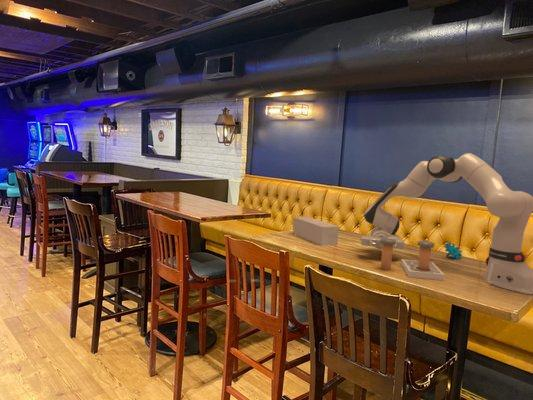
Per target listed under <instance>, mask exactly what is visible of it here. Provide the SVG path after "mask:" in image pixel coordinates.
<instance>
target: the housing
mask: <svg viewBox="0 0 533 400" xmlns="http://www.w3.org/2000/svg"><path fill="white" fill-rule="evenodd" d="M418 263H419V260H414V259H404V258H403V259H402V258H401V259H400V266H401V268H402V269H403V271H404V272H405V274H406V276H407V277H408V278H413V279H424V280H433V281H445V273H444V272H443V271H441V269H440V268H439V267H438V266H437V265H436V264H435V263H434V262H433V261H430V264H429V271H423V270H419V269H418Z"/></svg>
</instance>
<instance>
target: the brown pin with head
mask: <svg viewBox="0 0 533 400" xmlns="http://www.w3.org/2000/svg"><path fill="white" fill-rule="evenodd" d="M380 242H381V243H383V247H382V249H381V260H380V261H381V263H380V269H381V270H385V271H391V270H392V260H393V251H394V250H393V249H394V248H393V245H395V244H396V240H394V239H389V238H381V241H380Z"/></svg>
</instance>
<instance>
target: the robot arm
mask: <svg viewBox="0 0 533 400" xmlns="http://www.w3.org/2000/svg"><path fill="white" fill-rule="evenodd" d="M462 179H464V180H465V181H466V182H467V183H468V184H469V185H471V187H472V188H473V189H474V190H475V191H476V192H478V193H479V195H480V196H481V197H482V199H483V200H484V203H485V204H486V209H487V211H488V212H489V214H491V215H492V216H494V217H496V218H499V219H498V221H497V224H496V225H495V227H494V228H493V230H492V237H491V245H490V247H489V251H488V257H489V262H488V266H487V265H486V269H485V273H484V275H483V276H482V280H484V281H486V282H487V283H490V284H489V285H490V286H494V287H498V288H502V289H506V290H509V291H513V292H517V293H522V294H525V295H533V268H531V267H530V265H528V264H527V263H526V262H525V259H527V258H528V255H527V254H524V253H523V252H522V247H523V240H524V235H525V230H526V227H527V225H528V222H529V220H530V216H531V214H532V212H533V195H531V194H530V193H528V192H525V191H520V190H515V191H514V190H512V189H510V188H509V187H508V186H507V185H506V183H505V182H504V180H503V177H502V175H501V174H499V173H498V172H497V171H496V170H495V169H494V168H493V167H492V166H490V165H489V164H488V163H487V162H486V161H484V160H483V159H482V158H480V157H479V156H477V155H475V154H474V153H469V152H467V153H464V154H462V155H460V157H458V158H456V159H454V157H451V156H446V155H435V156H432V157H431V158H430V159H429V160H422V161H419V162H418V163H417V164H416V165H415V166H414V168H413V169H412V170H411V171H410V172H409V173H408V175H407V177H406V178H404V179H403V180H401V181H396V182H394V183H393V184H391V185H390V186H389V187H388V188H387V189H386V190H385V191H384V192H383V193H382V194H381V195H380V196H379V197H378V198H377V199H376V200H375V201H374V202H373V203H371V205H369V206H368V207H367V208H366V209H365V211H364V214H363V216H364V221H365V222H366V223H368V224H371V225H373V226H375V227H374V228H373V229H371V231H370V233H369V235H362V236H361V237H360V238H359V240H360V241H361V242H360V245H361V246H365V247H368V246H369V247H374V248H376V249H378V250H382V247H383V243H381V242H380V241H381V238H389V239H394V240H396V244H395V245H393V249H395V250H396V249H399V250H403V249H404V247H405V241H404V239H402V237H400V236H399V235H397V232H398V231H399V229H400V219H399V217H397V216H395V215H394V214H392V213H390V212H389V211H387V210H385V209H384V208H382V207H383V206H384V205H386V203H387V202H388V201H389V200H390V199H392V198H394V197H404V198H408V199H415V198H419V197H421V196H422V195H423V194H424V193H425V192H426V190H427V189H428V188H429V186H431V184H432V182H434V181H436V180H438V181H439V180H440V181H442V182H446V183H452V184H453V183H457V182H459V181H461V180H462Z"/></svg>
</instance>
